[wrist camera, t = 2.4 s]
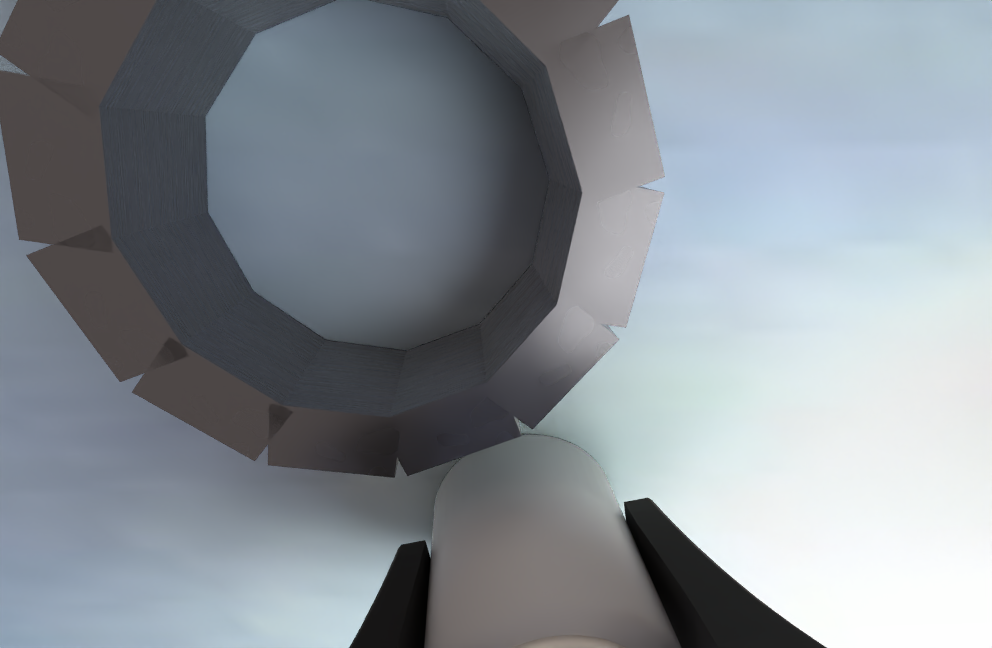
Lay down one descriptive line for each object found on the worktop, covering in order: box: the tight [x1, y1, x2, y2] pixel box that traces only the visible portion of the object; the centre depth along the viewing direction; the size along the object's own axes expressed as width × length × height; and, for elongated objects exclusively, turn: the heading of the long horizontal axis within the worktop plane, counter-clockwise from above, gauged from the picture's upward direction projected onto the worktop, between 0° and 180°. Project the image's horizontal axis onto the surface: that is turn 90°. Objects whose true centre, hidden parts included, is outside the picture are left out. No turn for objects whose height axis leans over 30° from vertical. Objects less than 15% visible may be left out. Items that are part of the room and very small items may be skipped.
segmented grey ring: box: [0, 0, 665, 478], centre depth 9 cm, size 10×10×3 cm
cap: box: [424, 434, 681, 648], centre depth 11 cm, size 5×5×5 cm
